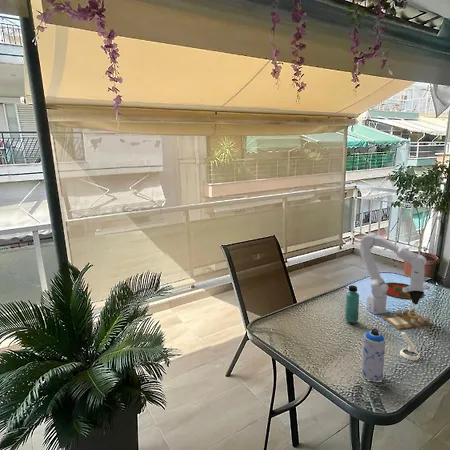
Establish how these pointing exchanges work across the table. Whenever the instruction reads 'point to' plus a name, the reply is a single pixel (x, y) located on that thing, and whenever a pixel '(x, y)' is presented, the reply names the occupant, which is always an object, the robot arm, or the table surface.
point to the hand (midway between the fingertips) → (414, 303)
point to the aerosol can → (373, 355)
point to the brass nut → (412, 316)
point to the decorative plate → (398, 291)
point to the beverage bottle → (352, 304)
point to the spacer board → (406, 320)
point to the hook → (409, 348)
